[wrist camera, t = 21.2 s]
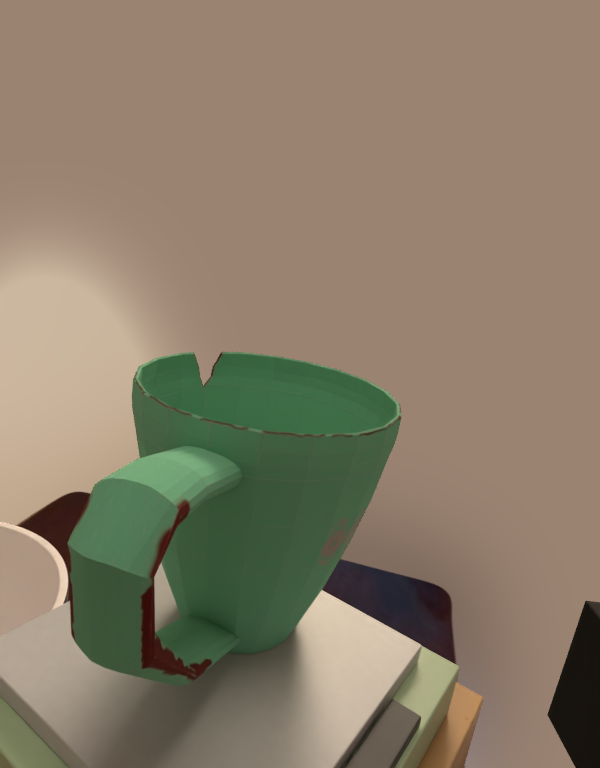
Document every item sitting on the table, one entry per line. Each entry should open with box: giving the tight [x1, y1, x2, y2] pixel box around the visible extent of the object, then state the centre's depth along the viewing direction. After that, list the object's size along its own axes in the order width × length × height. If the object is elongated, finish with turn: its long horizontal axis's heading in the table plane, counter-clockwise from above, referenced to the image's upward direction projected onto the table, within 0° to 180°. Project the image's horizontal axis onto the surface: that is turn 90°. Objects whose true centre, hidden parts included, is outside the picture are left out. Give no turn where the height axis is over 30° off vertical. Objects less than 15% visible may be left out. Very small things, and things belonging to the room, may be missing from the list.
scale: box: [0, 562, 460, 768], centre depth 21 cm, size 14×14×3 cm
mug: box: [67, 352, 401, 686], centre depth 20 cm, size 15×10×10 cm
